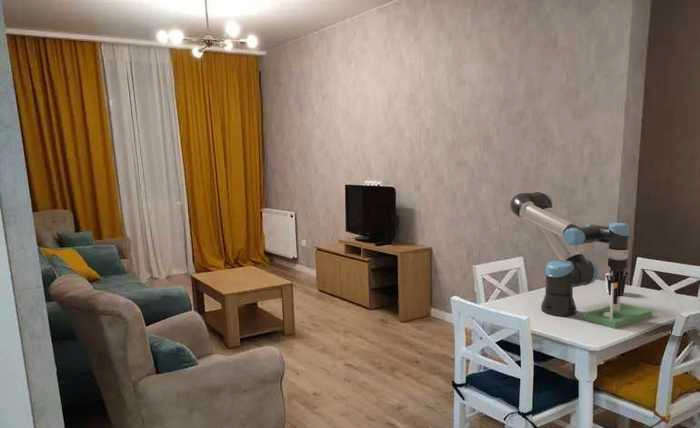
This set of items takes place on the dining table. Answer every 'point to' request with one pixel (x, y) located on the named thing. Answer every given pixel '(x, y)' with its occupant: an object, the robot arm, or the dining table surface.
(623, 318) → the mat
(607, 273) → the white cup
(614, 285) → the flag pin
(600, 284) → the dining table surface
